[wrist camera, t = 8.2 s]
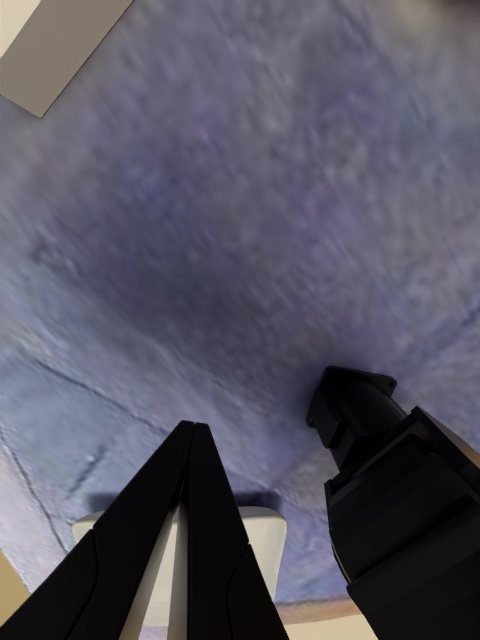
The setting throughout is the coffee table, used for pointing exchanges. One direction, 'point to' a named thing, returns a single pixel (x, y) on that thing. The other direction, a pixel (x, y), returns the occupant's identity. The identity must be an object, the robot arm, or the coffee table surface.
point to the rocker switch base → (49, 45)
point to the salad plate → (260, 527)
